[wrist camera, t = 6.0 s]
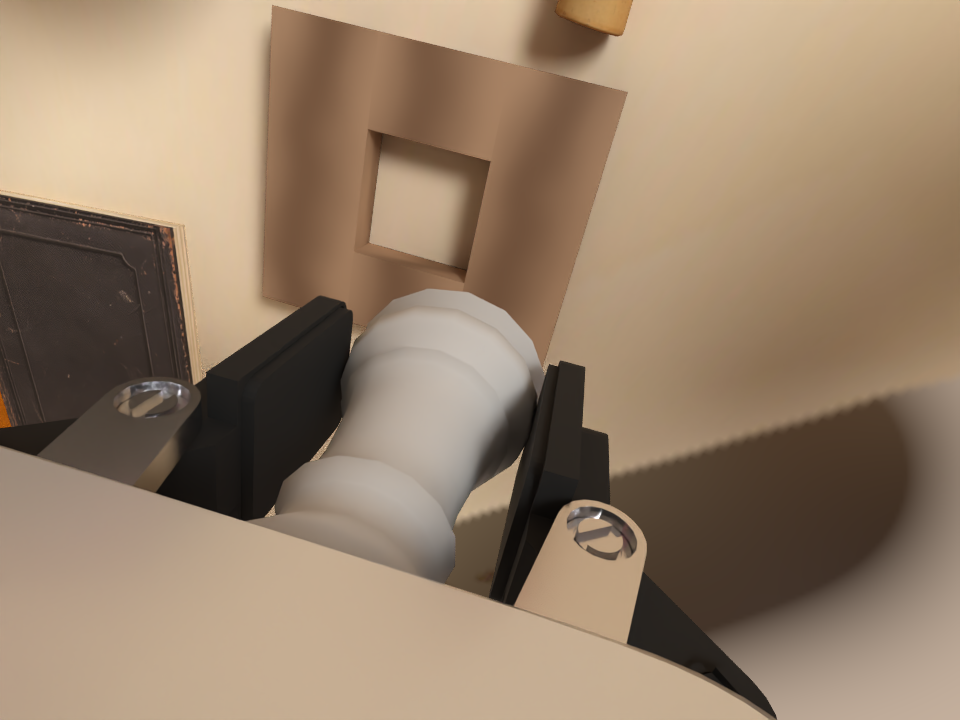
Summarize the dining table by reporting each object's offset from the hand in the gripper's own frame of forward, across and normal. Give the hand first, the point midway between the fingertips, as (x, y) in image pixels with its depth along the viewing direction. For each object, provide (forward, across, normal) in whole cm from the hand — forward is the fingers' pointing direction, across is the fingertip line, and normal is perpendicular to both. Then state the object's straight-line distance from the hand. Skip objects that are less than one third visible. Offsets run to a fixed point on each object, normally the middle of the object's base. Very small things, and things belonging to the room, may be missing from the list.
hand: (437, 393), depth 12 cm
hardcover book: (+19, +26, +17) cm, 37 cm away
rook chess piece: (+1, 0, 0) cm, 1 cm away
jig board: (+18, +5, 0) cm, 19 cm away
